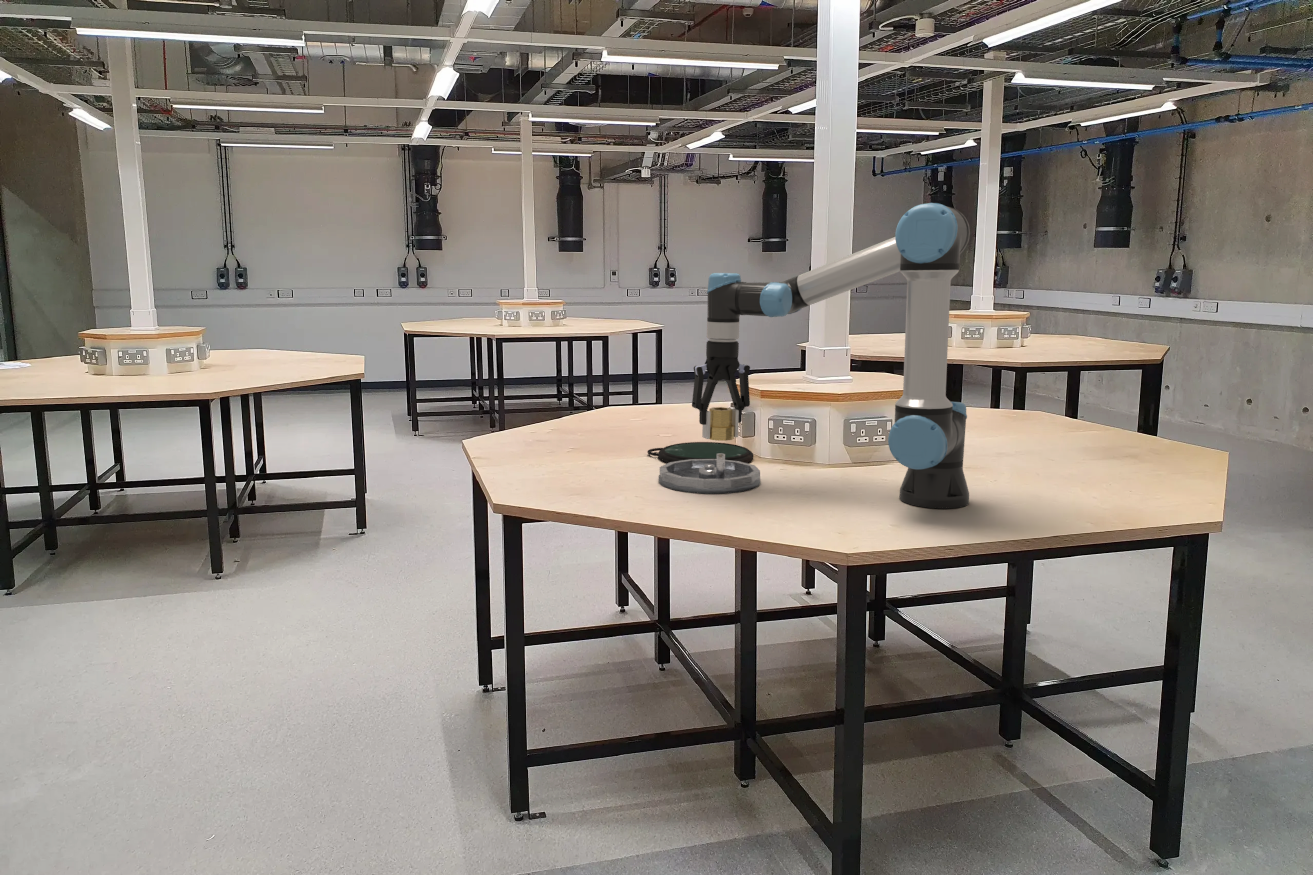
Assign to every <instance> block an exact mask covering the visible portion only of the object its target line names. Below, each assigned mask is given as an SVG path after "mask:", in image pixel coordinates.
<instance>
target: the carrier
mask: <svg viewBox="0 0 1313 875" xmlns="http://www.w3.org/2000/svg"><path fill="white" fill-rule="evenodd" d="M658 484H659V485H660V486H662V487H663V488H666V489H669V490H672V491H676V492H680V493H681V492H682V493H689V494H699V495H701V494H702V495H722V494H723V495H726V494H736V493H744V492H747V491H752V490H755V489H757V488H758V487H759V486H760V485H761V470H760V469H759V468H758V467H757V466H756V465H755V464H750V463H743V462H740V461H732V460H725V454H723V453H718V454H717V459H689V460H682V461H675V462H669V463H666V464H663V465H661V466H659V475H658Z"/></svg>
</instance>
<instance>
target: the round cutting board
mask: <svg viewBox="0 0 1313 875" xmlns="http://www.w3.org/2000/svg"><path fill="white" fill-rule="evenodd" d="M656 452H657V453H656ZM718 453H723V454H725V460H732V461H740V462H743V463H747V464H749V462H751V461H752V460H754V452H752V451H751V450H750V449H748V448H746V447H744V446H741V445H738V444H735V443H734V444H733V443H727V442H726V443H725V442H716V441H715V442H714V441H713V442H712V441H690V442H681V443H675V444H670V445H666V446H664V447H655V448H650V449H648V450H647V454H648V455H649V456H653V457H654V456H655V457H658V459H659V460H660V461H661V462H664V463H666V464H667V463H669V462H675V461H682V460H689V459H717V454H718Z"/></svg>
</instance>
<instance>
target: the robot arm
mask: <svg viewBox="0 0 1313 875" xmlns="http://www.w3.org/2000/svg"><path fill="white" fill-rule="evenodd" d="M894 234H895V236H894V237H891V238H888V239H886V240H884V241H881V242H879V243H876V244H873V245H871V246H869V247H866V248H864V249H862V250H858V251H855V252H854V253H852V254H848V255H846V256H843V257H841V258H838V259H836V260H834V261H830V262H829V263H825V264H823V265H821V266H818V267H816V268H813V269H811V270H808V271H807V272H804V273H802V274H799V275H797V276H794V277H791V278H788V279H786V280H784V281H775V282H774V281H773V282H770V281H769V282H757V281H756V282H755V281H754V282H747V281H742V279H741V278H742V277H741V274H739V273H736V272H735V273H732V272H714V273H713V272H712V273H711V274H709V276H708V284H707V291H706V295H707V317H706V318H707V319H706V338H707V339H708V340H707V341H706V346H705V347H706V349H705V350H706V355H705V356H706V360H705V362H704V364H702V365H694V366H693V371H694V383H693V392H692V401H691V407H692V408H694V409H696V410H698V411H699V418H698V419H699V420H698V421H699V424H700V425H702V438H703V439H706V440H710V411H709V406H710V404H711V400H712V397H713V394H714V392H715V389H716V386H717V385H718V383H719V381H722V380H725V382H726V384H727V387H728V391H729V395H730V398H731V400H732V404H733V407H734V408H731V409H732V425H734V438H739V424H741V423H742V420H743V419H742V417H743V411H744V410H745V408H747V407H750V405H751V399H750V385H749V384H750V383H749V373H750V371H751V370H750V369H751V366H750V365H749V364H741V363H740V362H739V351H740V350H739V349H740V348H739V347H740V346H739V341H737V340H739V339H740V318H741V317H740V316H753V317H769V318H777V317H785V316H787V315H792V314H795V313H798V312H799V311H801V310H802V309H804V308H807V307H809V306H811V305H815V304H817V303H820V302H822V301H824V300H827V299H830V298H832V297H835V296H838V295H840V294H843V293H845V292H849V291H851V290H854V289H857V288H859V287H862V286H864V285H867V284H870V283H872V282H875V281H878V280H881V279H884V278H886V277H889V276H891V275H894V274H897V273H899V272H900V274H902V275H903V277H904V278H905V279H906V281H907V283H906V304H905V305H906V306H905V309H906V311H905V332H904V336H905V338H904V359H903V384H902V385H903V388H902V396H901V397H900V398H899V399H897V401H896V402H895V404H894V407H895V408H894V423H892V426H891V427H890V429H889V433H888V438H887V443H888V444H887V445H888V449H889V451H890V453H891V455H892V457H893V458H894V459H895V460H896V461H897V462H898V463H899V464H900V465H902V466H904V467H905V468H907V470H906V473H905V476H904V478H903V480H902V482H901V485H900V488H899V498H898V499H899V500H900V501H901V502H903V503H905V504H908V505H912V506H916V507H922V508H927V509H928V508H930V509H943V510H944V509H946V510H947V509H959V508H963V507H966V506H968V505H969V503H970V491H969V488H968V484H967V479H966V478H965V474H964V456H965V455H964V454H965V440H966V439H965V438H966V426H967V419H968V415H967V406H966V404H965V403H963V402H960V401H951V400H949V399H948V398H947V395H946V394H947V392H946V391H947V373H948V372H947V371H948V370H947V369H948V368H947V367H948V351H949V349H948V347H949V328H950V326H949V323H950V307H951V304H950V303H951V285H952V284H951V282H952V279H953V278H954V277H955V276H956V275H957V274H958V273H959V272H960V260H961V259H960V257H961V254H962V253H963V252H964V250H965V249H966V248H967V245H968V243H969V240H970V236H971V235H970V234H971V229H970V224H969V222H968V220H967V218H966V216H965V215H964V214H963V213H962V212H961V211H959V210H958V209H956V208H954V207H951V206H946V205H945V204H941V203H938V202H929V203H921V204H917V205H915V206H913V207H912V208H910V209H909V210H907V211H906V212H905V213H904V214H903V215H902V216H901V217H900V219H899V220H898V223H897V226H896V229H895V233H894ZM706 371H707V373H708V377H707V379H706V381H707V382H706V385H705V388H704V381H705V380H704V378H705V377H704V376H705V374H706ZM737 371H738V373H739V374H738V376H739V377H738V378H739V380H738V381H739V389H738V385H737V379H736V375H735V374H736V372H737ZM703 390H704V391H703Z"/></svg>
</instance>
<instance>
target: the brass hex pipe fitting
mask: <svg viewBox="0 0 1313 875" xmlns="http://www.w3.org/2000/svg"><path fill="white" fill-rule="evenodd" d="M732 409H733V408H731V407H725V406H724V407H723V406H718V407H717V406H716V407H714V406H713V407H711V408H708V411H710V439H709V440H710V441H718V442H719V441H721V442H723V441H726V442H727V441H732V440H734V439H735V437H734V425H732Z"/></svg>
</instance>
